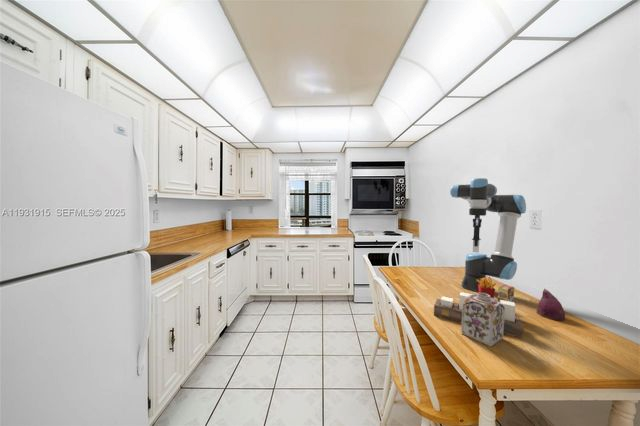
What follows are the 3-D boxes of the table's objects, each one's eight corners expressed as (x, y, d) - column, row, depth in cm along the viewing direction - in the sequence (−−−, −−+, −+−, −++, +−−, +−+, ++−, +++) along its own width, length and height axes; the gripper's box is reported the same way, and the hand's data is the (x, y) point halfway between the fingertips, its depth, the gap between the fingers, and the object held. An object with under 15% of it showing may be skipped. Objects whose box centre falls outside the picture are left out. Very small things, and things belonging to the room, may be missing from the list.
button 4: (499, 314, 111) (500, 299, 111) (513, 317, 108) (514, 302, 108) (500, 318, 107) (501, 303, 106) (514, 322, 104) (515, 306, 104)
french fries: (494, 307, 131) (496, 280, 130) (477, 304, 133) (478, 278, 133) (489, 301, 139) (490, 275, 138) (472, 299, 142) (474, 273, 141)
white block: (459, 305, 120) (460, 292, 119) (471, 308, 117) (472, 294, 117) (458, 309, 116) (459, 295, 115) (471, 312, 113) (471, 297, 112)
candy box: (506, 320, 115) (507, 289, 115) (495, 317, 119) (497, 286, 118) (513, 316, 120) (514, 286, 119) (503, 313, 124) (504, 283, 123)
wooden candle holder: (436, 308, 128) (437, 298, 128) (519, 327, 109) (519, 316, 109) (433, 315, 119) (434, 305, 119) (522, 337, 100) (523, 326, 100)
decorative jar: (460, 333, 103) (462, 292, 102) (473, 326, 109) (475, 287, 109) (492, 347, 93) (494, 302, 92) (504, 339, 99) (506, 296, 99)
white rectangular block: (441, 309, 124) (442, 296, 124) (452, 312, 122) (453, 298, 121) (440, 313, 120) (440, 299, 120) (451, 315, 117) (452, 301, 117)
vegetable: (537, 322, 121) (529, 293, 122) (538, 313, 129) (530, 285, 129) (567, 324, 114) (558, 293, 115) (565, 314, 122) (557, 285, 122)
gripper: (469, 207, 134) (467, 249, 135) (469, 207, 123) (466, 253, 124) (486, 208, 130) (484, 251, 131) (486, 208, 119) (484, 255, 120)
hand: (475, 252), depth 128 cm, fingers closed
